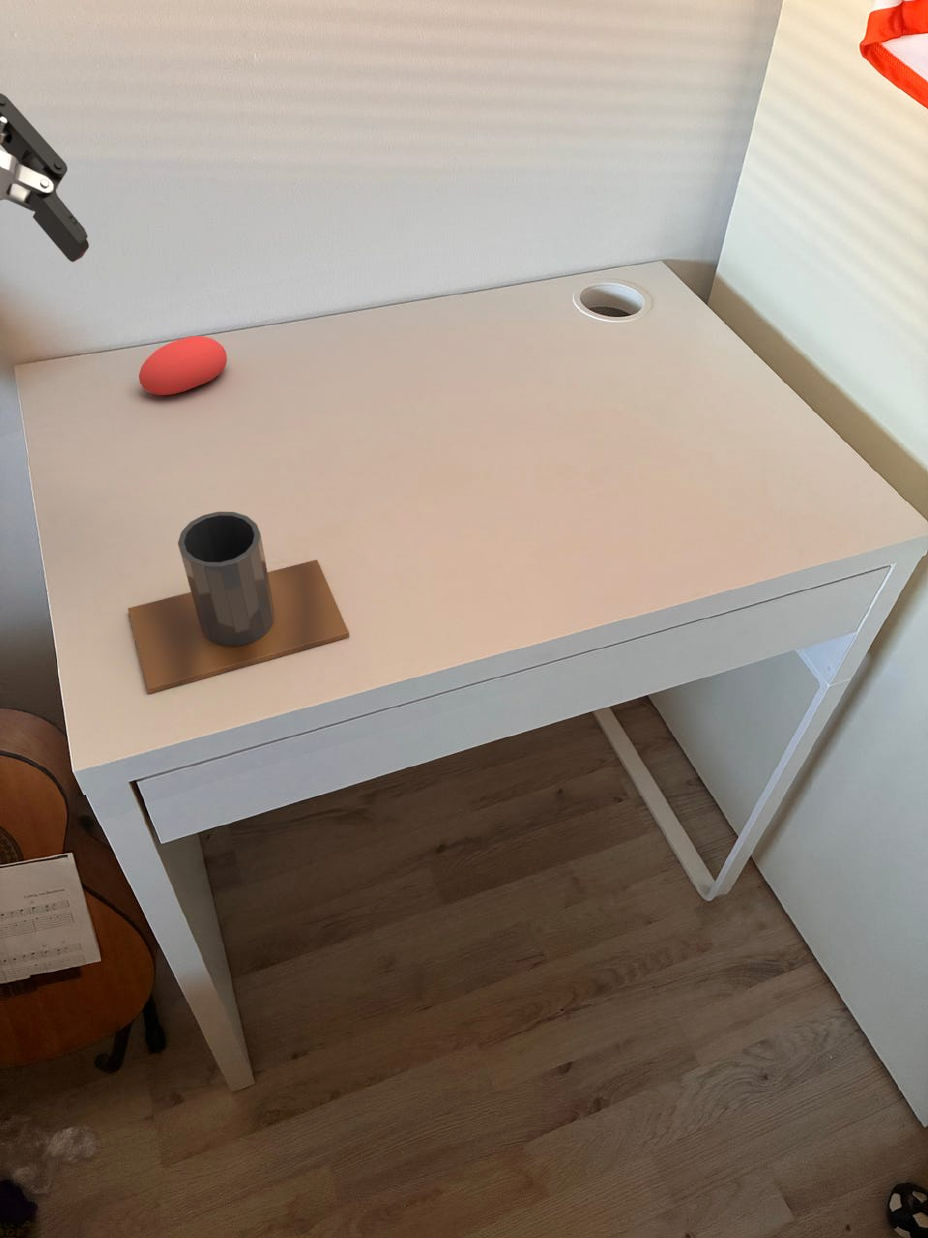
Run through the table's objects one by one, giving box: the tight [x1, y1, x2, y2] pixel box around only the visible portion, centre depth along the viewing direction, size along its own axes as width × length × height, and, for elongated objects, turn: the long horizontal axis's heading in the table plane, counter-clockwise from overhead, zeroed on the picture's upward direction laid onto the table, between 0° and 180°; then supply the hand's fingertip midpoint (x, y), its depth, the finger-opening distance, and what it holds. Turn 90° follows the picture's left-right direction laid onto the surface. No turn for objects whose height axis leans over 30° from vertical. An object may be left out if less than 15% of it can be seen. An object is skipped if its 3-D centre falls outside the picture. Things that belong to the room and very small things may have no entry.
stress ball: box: [138, 335, 228, 396], centre depth 98 cm, size 5×9×6 cm, turn 118°
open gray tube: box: [177, 511, 274, 647], centre depth 74 cm, size 6×6×9 cm
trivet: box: [127, 559, 350, 695], centre depth 77 cm, size 16×9×1 cm, turn 112°
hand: (33, 281), depth 61 cm, fingers open, 8 cm apart
